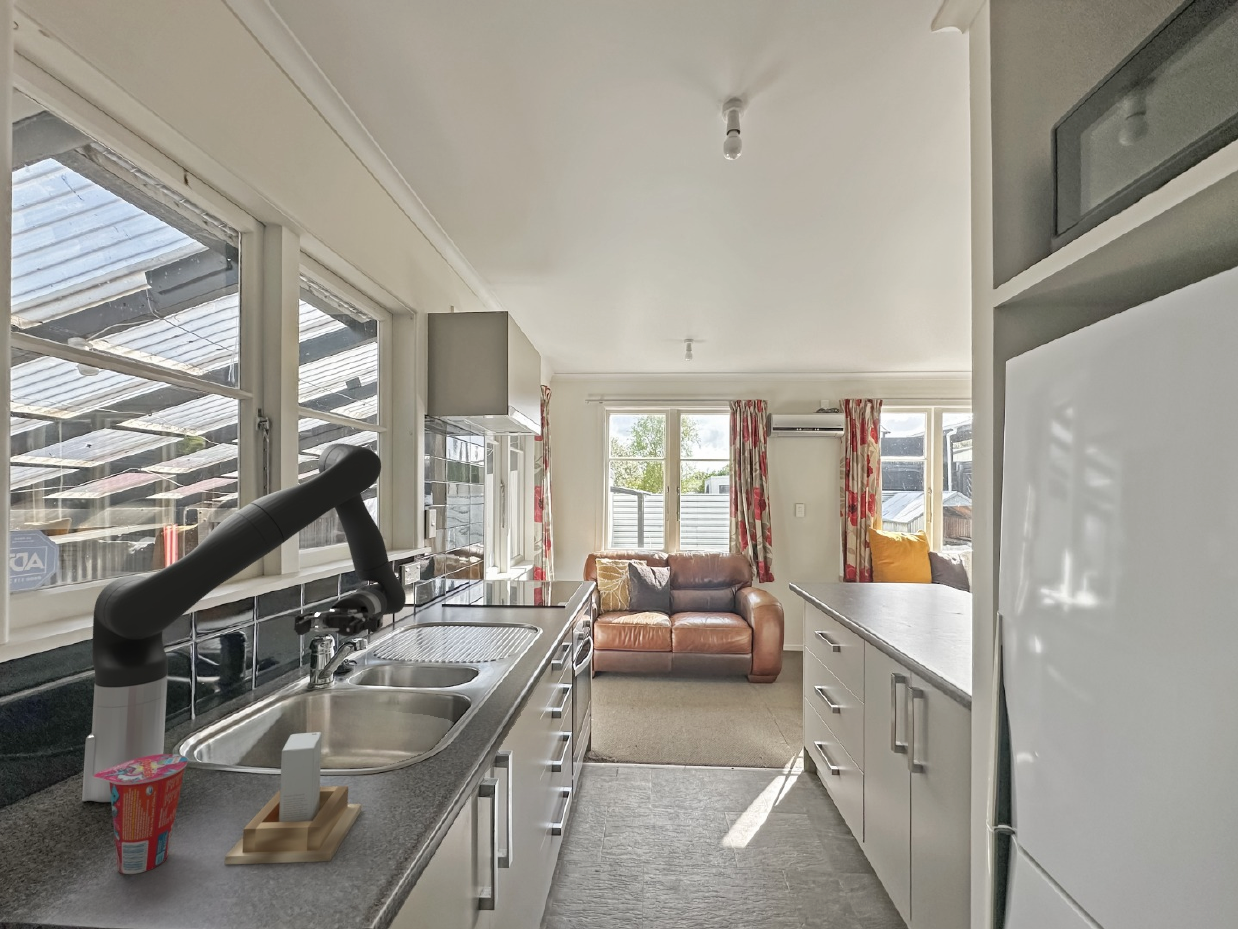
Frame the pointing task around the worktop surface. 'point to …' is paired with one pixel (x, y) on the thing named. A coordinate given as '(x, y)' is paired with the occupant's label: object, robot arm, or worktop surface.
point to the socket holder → (296, 832)
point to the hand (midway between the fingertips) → (325, 629)
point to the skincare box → (300, 778)
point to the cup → (144, 808)
